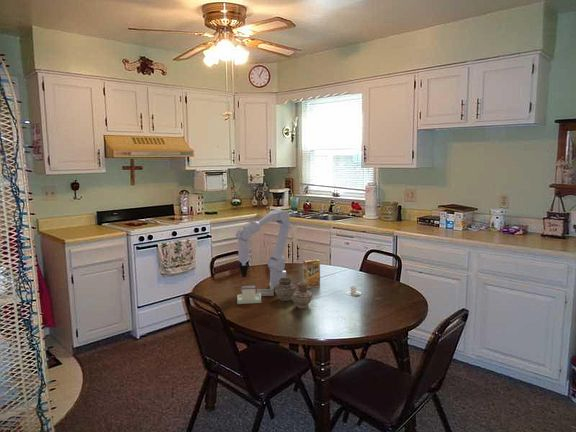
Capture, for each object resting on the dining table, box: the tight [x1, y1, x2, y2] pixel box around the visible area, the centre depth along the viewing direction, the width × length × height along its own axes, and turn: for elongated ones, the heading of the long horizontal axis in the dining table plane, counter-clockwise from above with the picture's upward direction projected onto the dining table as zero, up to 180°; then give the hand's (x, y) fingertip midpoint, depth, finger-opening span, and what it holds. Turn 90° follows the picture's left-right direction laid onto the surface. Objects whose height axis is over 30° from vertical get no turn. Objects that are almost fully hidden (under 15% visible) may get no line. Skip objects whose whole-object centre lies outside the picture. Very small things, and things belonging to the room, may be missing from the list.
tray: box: [236, 293, 262, 305], centre depth 222 cm, size 12×9×2 cm
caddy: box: [240, 285, 257, 300], centre depth 221 cm, size 8×4×7 cm, turn 95°
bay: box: [256, 285, 275, 297], centre depth 231 cm, size 9×7×4 cm
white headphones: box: [345, 285, 362, 297], centre depth 230 cm, size 9×8×4 cm
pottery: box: [274, 277, 314, 309], centre depth 217 cm, size 11×25×12 cm, turn 38°
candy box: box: [302, 258, 321, 289], centre depth 242 cm, size 9×4×15 cm, turn 113°
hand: (244, 275), depth 233 cm, fingers open, 7 cm apart
